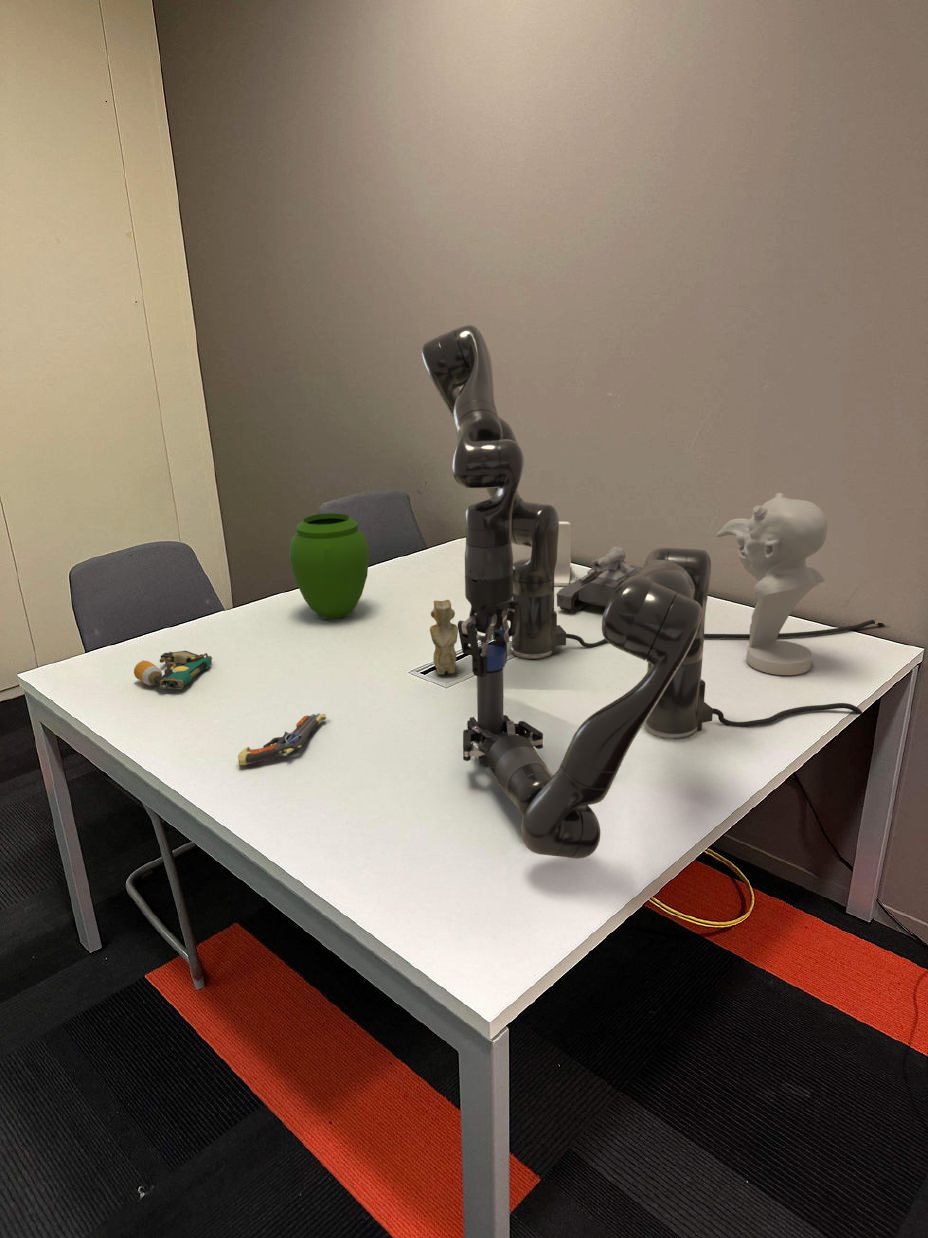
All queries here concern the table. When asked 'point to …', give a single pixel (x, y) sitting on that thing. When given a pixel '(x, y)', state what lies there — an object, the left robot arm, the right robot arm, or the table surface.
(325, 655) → the table surface
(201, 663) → the spray gun
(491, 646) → the lid
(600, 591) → the toy
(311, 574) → the vase
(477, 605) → the left robot arm
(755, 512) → the bust sculpture
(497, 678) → the dark grey capped cylinder
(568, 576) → the tablet stand
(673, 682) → the right robot arm
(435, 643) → the sculpture
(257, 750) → the toy gun
